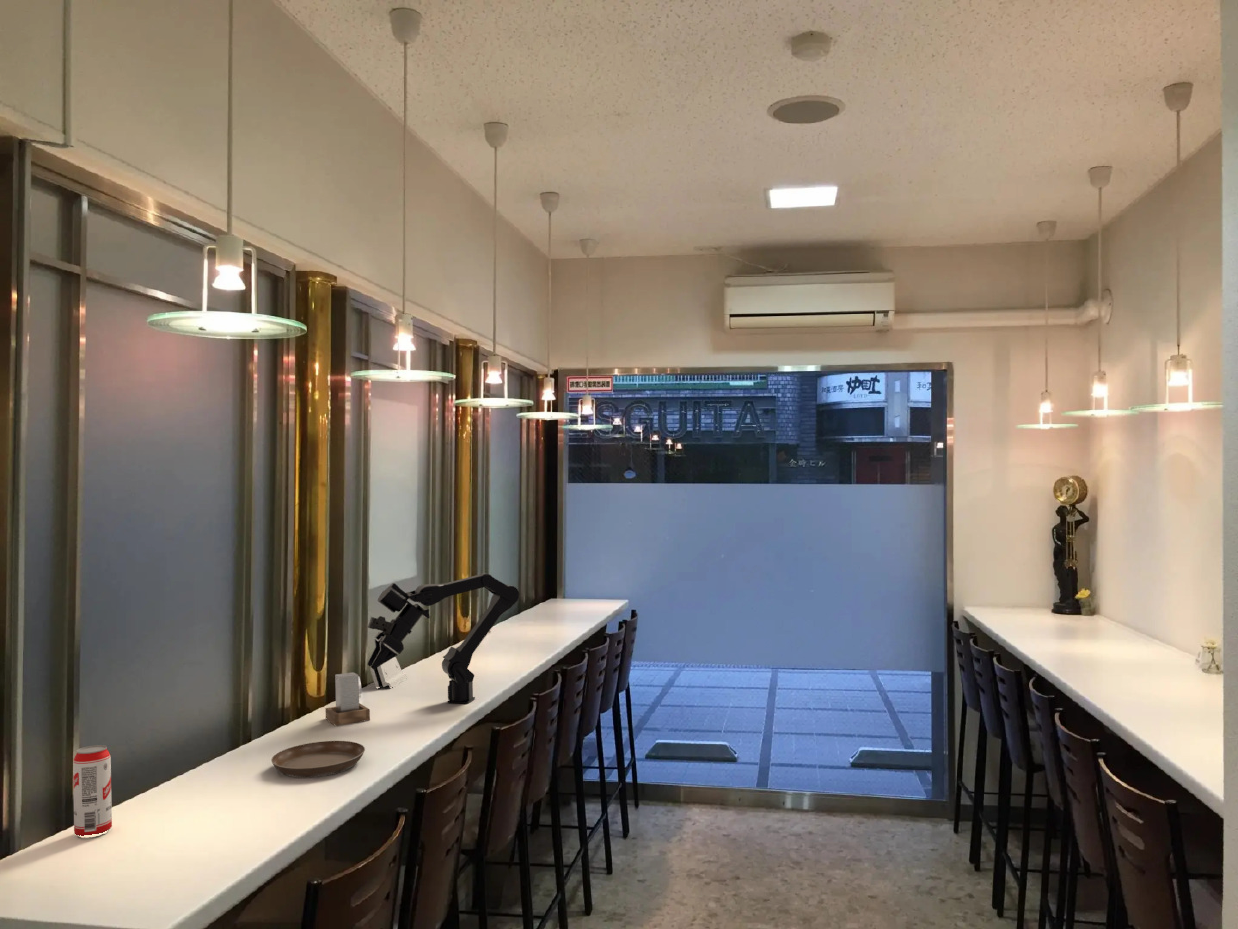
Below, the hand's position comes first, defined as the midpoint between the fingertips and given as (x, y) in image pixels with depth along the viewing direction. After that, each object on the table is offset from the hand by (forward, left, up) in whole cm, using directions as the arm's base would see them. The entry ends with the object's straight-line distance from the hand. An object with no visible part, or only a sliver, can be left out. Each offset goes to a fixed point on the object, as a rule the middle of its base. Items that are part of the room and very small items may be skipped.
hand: (370, 666), depth 266 cm
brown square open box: (+3, +7, -13) cm, 15 cm away
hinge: (+14, -38, -14) cm, 43 cm away
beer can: (+9, +93, -13) cm, 95 cm away
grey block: (+3, +7, -13) cm, 15 cm away
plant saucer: (-12, +48, -14) cm, 52 cm away
